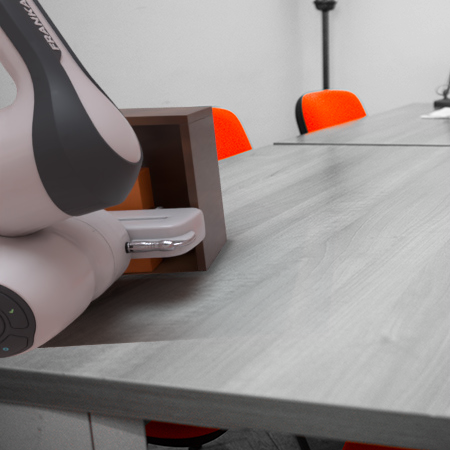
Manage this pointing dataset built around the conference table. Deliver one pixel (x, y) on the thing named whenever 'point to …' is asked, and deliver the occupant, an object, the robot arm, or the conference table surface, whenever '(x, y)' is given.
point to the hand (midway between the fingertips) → (130, 214)
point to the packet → (139, 201)
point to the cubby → (183, 175)
